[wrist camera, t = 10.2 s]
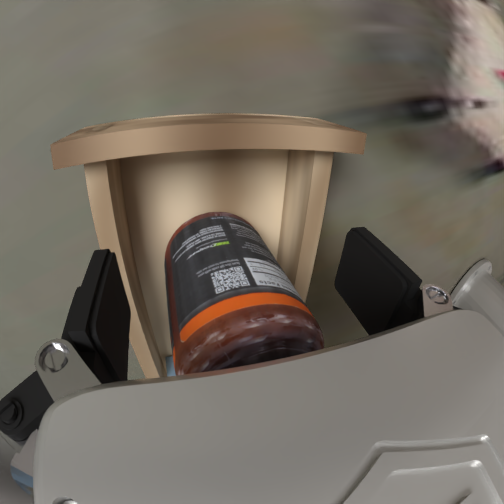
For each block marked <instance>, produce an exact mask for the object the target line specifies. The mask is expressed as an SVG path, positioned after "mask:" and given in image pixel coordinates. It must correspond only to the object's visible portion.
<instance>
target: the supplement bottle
mask: <svg viewBox="0 0 504 504" xmlns="http://www.w3.org/2000/svg"><path fill="white" fill-rule="evenodd" d="M164 267H165V285H166V297H167V309H168V321H169V330H170V340H171V348H172V355H173V362H174V369H175V374H176V376H177V375H185V374H193V373H201V372H208V371H215V370H222V369H229V368H235V367H241V366H246V365H252V364H257V363H262V362H267V361H272V360H277V359H282V358H287V357H291V356H296V355H300V354H304V353H308V352H313V351H317V350H321V349H324V339H323V335H322V332H321V330H320V327H319V325H318V323H317V321H316V320H315V318H314V317H313V315H312V314H311V312H310V311H309V310H308V308H307V306H306V304H305V303H304V301H303V300H302V298H301V297H300V295H299V294H298V292H297V291H296V289H295V288H294V286H293V285H292V283H291V282H290V280H289V279H288V277H287V276H286V274H285V272H284V271H283V270H282V268H281V267H280V265H279V264H278V262H277V261H276V259H275V257H274V256H273V254H272V253H271V252H270V250H269V249H268V247H267V245H266V244H265V243H264V241H263V240H262V238H261V236H260V235H259V233H258V232H257V231H256V230H255V229H254V227H253V226H252V225H251V224H250V223H249V222H247V221H246V220H245V219H243V218H241V217H239V216H237V215H234V214H231V213H227V212H208V213H204V214H200V215H198V216H195V217H193V218H191V219H189V220H188V221H186V222H185V223H183V224H182V225H181V226H180V227H179V228H178V229H177V230H176V231H175V232H174V234H173V235H172V237H171V239H170V240H169V242H168V245H167V248H166V251H165V261H164Z"/></svg>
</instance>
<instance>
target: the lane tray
mask: <svg viewBox="0 0 504 504" xmlns="http://www.w3.org/2000/svg"><path fill="white" fill-rule="evenodd" d="M366 135H367V134H366V133H363V132H360V131H357V130H354V129H351V128H348V127H345V126H341V125H338V124H335V123H331V122H328V121H324V120H320V119H317V118H309V117H299V116H286V115H270V114H241V113H216V114H187V115H172V116H159V117H149V118H140V119H132V120H124V121H118V122H111V123H105V124H99V125H94V126H88V127H85V128H83V129H81V130H79V131H76V132H74V133H72V134H70V135H68V136H66V137H64V138H62V139H60V140H59V141H57V142H55V143H53V144H51V145H50V146H51V154H52V161H53V168H54V170H55V169H60V168H65V167H70V166H75V165H80V164H84V169H85V176H86V182H87V189H88V194H89V200H90V205H91V210H92V215H93V220H94V225H95V229H96V234H97V238H98V242H99V246H100V250H101V249H110V251H111V252H115V254H116V257H117V262H118V266H119V270H120V273H121V277H122V281H123V285H124V288H125V292H126V295H127V299H128V302H129V305H130V310H131V320H130V333H129V339H130V342H131V344H132V347H133V349H134V351H135V354H136V356H137V359H138V361H139V363H140V366H141V368H142V370H143V372H144V374H145V377H146V379H147V378H158V377H167V369H166V359H165V357H170V356H173V355H172V348H171V340H170V330H169V321H168V309H167V297H166V285H165V267H164V261H165V251H166V248H167V245H168V242H169V240H170V239H171V237H172V235H173V234H174V232H175V231H176V230H177V229H178V228H179V227H180V226H181V225H182V224H183V223H185V222H186V221H188V220H189V219H191V218H193V217H195V216H198V215H200V214H204V213H208V212H227V213H231V214H234V215H237V216H239V217H241V218H243V219H245V220H246V221H247V222H249V223H250V224H251V225H252V226H253V227H254V229H255V230H256V231H257V232H258V233H259V235H260V236H261V238H262V240H263V241H264V243H265V244H266V245H267V247H268V249H269V250H270V252H271V253H272V254H273V256H274V257H275V259H276V261H277V262H278V264H279V265H280V267H281V268H282V270H283V271H284V272H285V274H286V276H287V277H288V279H289V280H290V282H291V283H292V285H293V286H294V288H295V289H296V291H297V292H298V294H299V295H300V297H301V298H302V300H303V301H304V303H305V302H306V298H307V293H308V289H309V285H310V280H311V276H312V271H313V266H314V262H315V257H316V252H317V247H318V242H319V237H320V232H321V226H322V221H323V216H324V210H325V204H326V198H327V193H328V186H329V180H330V174H331V167H332V160H333V153H334V152H344V153H355V154H364V148H365V141H366Z"/></svg>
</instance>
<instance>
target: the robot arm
mask: <svg viewBox="0 0 504 504" xmlns="http://www.w3.org/2000/svg"><path fill="white" fill-rule="evenodd" d="M491 271H492V264H491V262H489V261H488V260H487V259H483V260H480V261H479V262H477V263H476V264H475V265H474V266H473V267H472V268H471V269H470V270H469V271H468V272H467V273H466V274H465V275H464V277H463V278H462V279H461V280H460V282H459V283H458V285H457V286H456V287H455V289H454V290H453V292H452V294H451V295H449V294H448V293H447V292H446V291H445V290H444V289H443V288H441V287H439V286H437V285H433V284H427V285H425V286H424V287H423V288H422V291H421V290H420V288H419V287H420V285H421V283H422V280H421V279H420V278H419V277H418V276H417V275H416V274H415V273H414V272H413V271H412V270H411V269H410V268H409V267H408V266H407V265H406V264H405V263H404V262H403V261H402V260H401V259H400V258H398V257H397V256H396V255H395V254H394V253H393V252H392V251H391V250H390V249H389V248H388V247H387V246H385V245H384V244H383V243H382V242H381V241H380V240H379V239H378V238H376V237H375V236H374V235H373V234H372V233H371V232H370V231H368V230H367V229H366V228H365V227H357V228H351V230H350V231H349V232H348V233H347V235H346V240H345V244H344V248H343V252H342V256H341V260H340V264H339V267H338V271H337V275H336V279H335V288H336V290H337V291H338V292H339V294H340V295H341V296H342V298H343V299H344V301H345V302H346V303H347V305H348V306H349V308H350V309H351V310H352V312H353V313H354V314H355V316H356V317H357V319H358V320H359V322H360V323H361V324H362V326H363V327H364V329H365V330H366V331H367V333H368V334H369V336H367V337H364V338H360V339H357V340H354V341H350V342H347V343H343V344H339V345H336V346H332V347H328V348H324V349H321V350H317V351H313V352H308V353H304V354H300V355H296V356H291V357H287V358H282V359H277V360H272V361H267V362H262V363H257V364H252V365H246V366H241V367H235V368H229V369H222V370H215V371H208V372H201V373H193V374H185V375H177V376H168V377H158V378H147V379H137V380H128V381H127V372H128V348H129V333H130V320H131V310H130V305H129V302H128V299H127V295H126V292H125V288H124V285H123V281H122V277H121V273H120V270H119V266H118V262H117V257H116V254H115V252H111V251H110V249H101V250H95V251H94V253H93V255H92V258H91V260H90V263H89V266H88V268H87V271H86V274H85V277H84V280H83V282H82V285H81V287H78V288H77V289H76V292H75V295H74V297H73V300H72V304H71V307H70V310H69V313H68V316H67V320H66V323H65V327H64V330H63V334H62V338H61V339H53V340H50V341H48V342H46V343H45V344H44V345H42V346H41V347H40V349H39V350H38V351H37V354H36V356H35V367H36V371H35V372H34V373H33V374H31V375H30V376H29V377H28V378H26V379H25V380H24V381H23V382H22V383H20V384H19V385H18V386H17V387H16V388H14V389H13V390H12V391H11V392H10V393H8V394H7V395H6V396H5V397H4V398H2V400H1V401H0V504H504V287H503V286H502V285H501V284H500V283H499V282H498V281H497V280H496V279H495V278H493V277H492V276H491Z"/></svg>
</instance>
